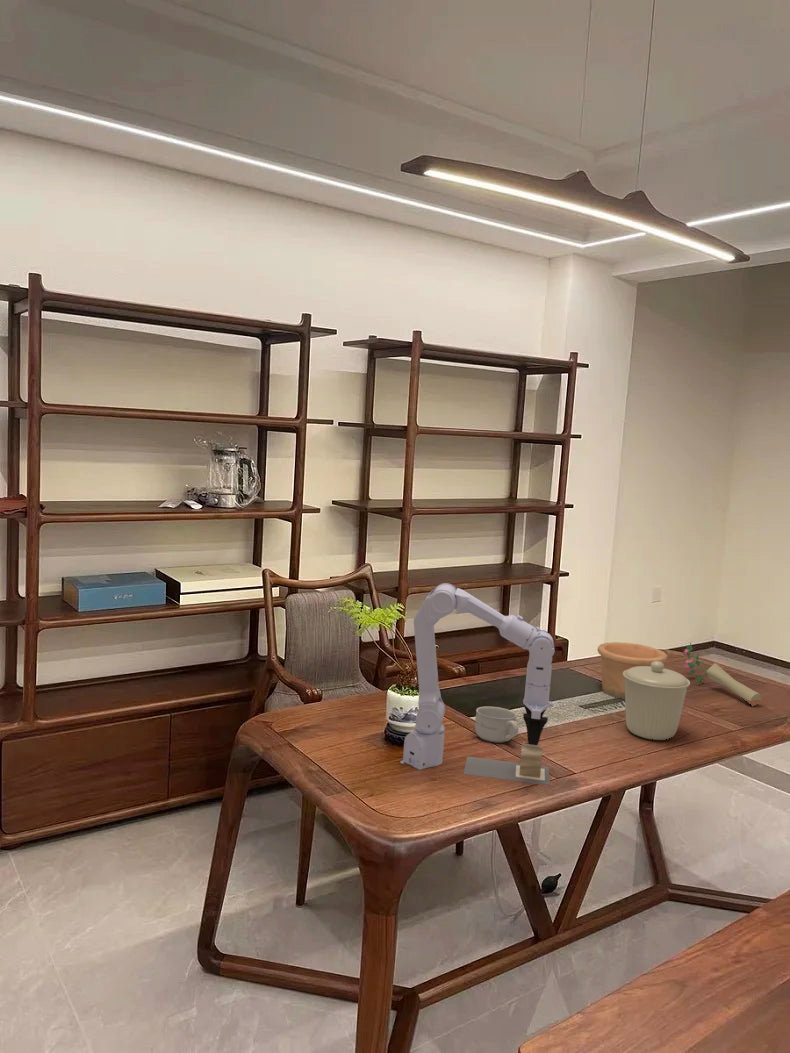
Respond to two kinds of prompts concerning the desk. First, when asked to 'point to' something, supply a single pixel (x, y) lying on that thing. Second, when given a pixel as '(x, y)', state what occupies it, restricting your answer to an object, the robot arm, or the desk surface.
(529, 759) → the tan u-shaped block
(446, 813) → the desk surface
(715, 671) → the flower vase
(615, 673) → the pottery
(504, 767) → the board
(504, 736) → the teacup
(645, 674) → the canister
